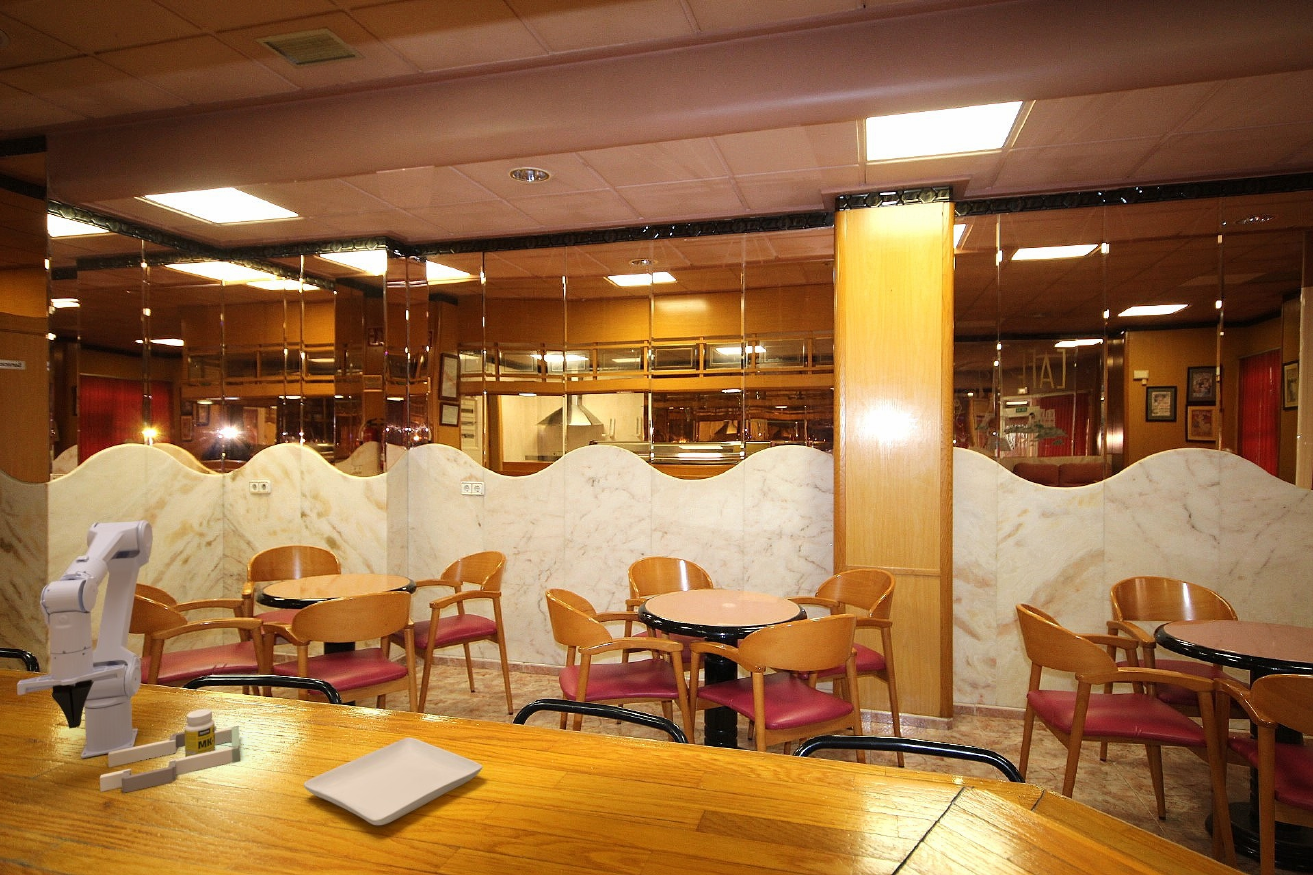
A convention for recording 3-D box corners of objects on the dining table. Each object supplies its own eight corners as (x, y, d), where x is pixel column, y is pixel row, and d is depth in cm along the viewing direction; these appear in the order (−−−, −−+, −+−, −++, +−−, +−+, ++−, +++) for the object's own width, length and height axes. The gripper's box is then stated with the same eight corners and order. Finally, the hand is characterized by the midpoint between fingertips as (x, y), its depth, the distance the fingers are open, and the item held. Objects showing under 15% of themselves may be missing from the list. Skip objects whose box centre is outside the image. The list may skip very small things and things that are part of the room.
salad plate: (409, 751, 138) (408, 733, 138) (486, 782, 126) (485, 763, 126) (300, 801, 121) (299, 781, 121) (377, 843, 108) (376, 821, 108)
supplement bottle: (199, 764, 133) (197, 719, 133) (179, 761, 135) (177, 716, 134) (221, 752, 138) (220, 708, 138) (201, 749, 139) (200, 706, 139)
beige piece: (111, 758, 136) (111, 746, 136) (238, 732, 147) (238, 720, 147) (98, 798, 122) (97, 784, 122) (240, 766, 132) (239, 753, 132)
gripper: (11, 663, 120) (15, 744, 120) (120, 647, 127) (123, 724, 128) (21, 651, 126) (25, 728, 127) (124, 636, 133) (128, 710, 134)
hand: (75, 725), depth 128 cm, fingers closed
